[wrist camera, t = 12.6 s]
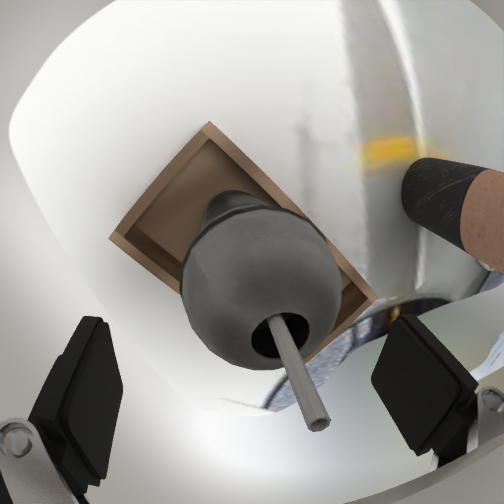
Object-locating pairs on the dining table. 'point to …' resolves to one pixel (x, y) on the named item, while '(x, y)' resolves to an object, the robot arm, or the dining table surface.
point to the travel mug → (459, 206)
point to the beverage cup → (262, 291)
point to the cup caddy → (193, 208)
